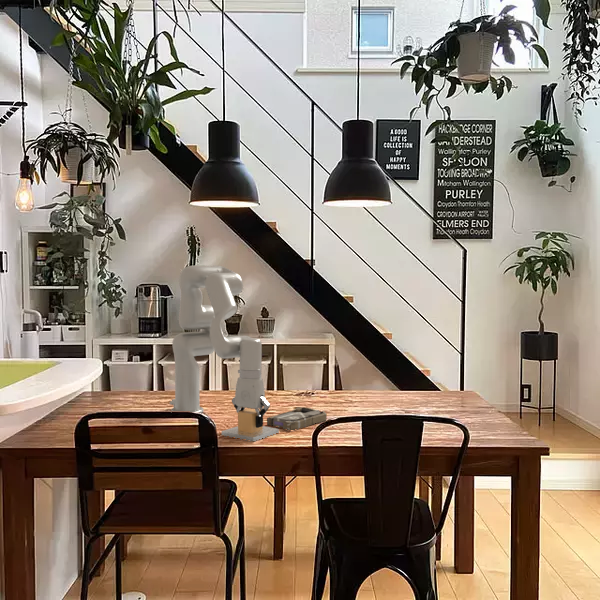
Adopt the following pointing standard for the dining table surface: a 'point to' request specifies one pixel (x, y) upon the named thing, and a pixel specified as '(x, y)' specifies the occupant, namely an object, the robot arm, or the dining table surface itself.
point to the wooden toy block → (248, 421)
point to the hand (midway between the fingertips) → (250, 424)
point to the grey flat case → (297, 418)
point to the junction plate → (250, 436)
